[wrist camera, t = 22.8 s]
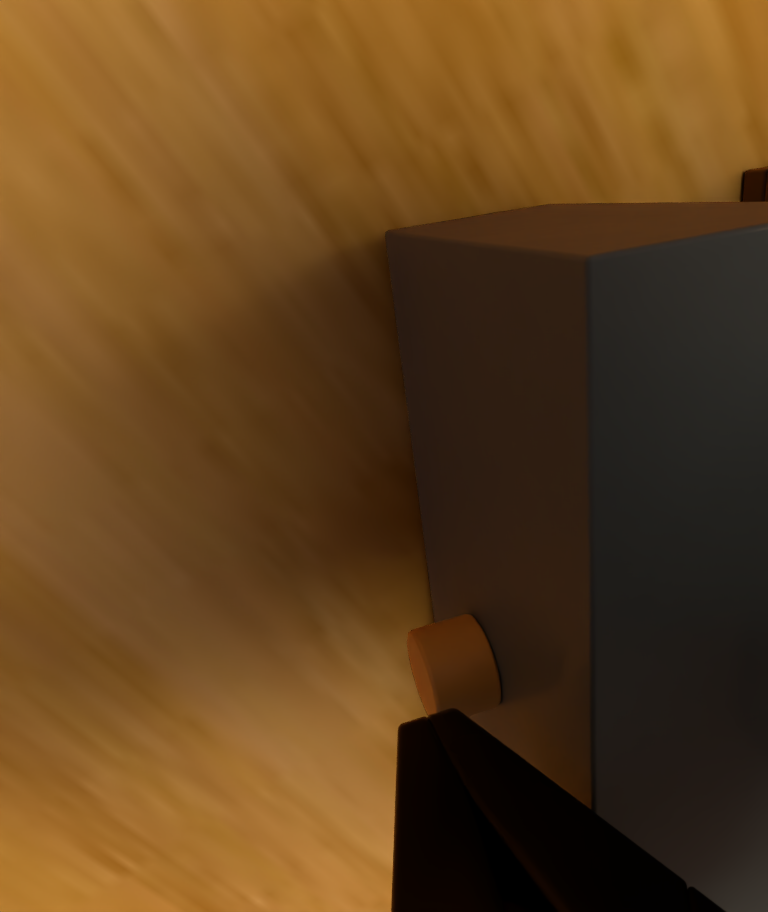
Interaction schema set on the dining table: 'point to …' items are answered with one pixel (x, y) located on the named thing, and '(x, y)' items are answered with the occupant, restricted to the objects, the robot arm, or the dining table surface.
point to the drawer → (602, 509)
